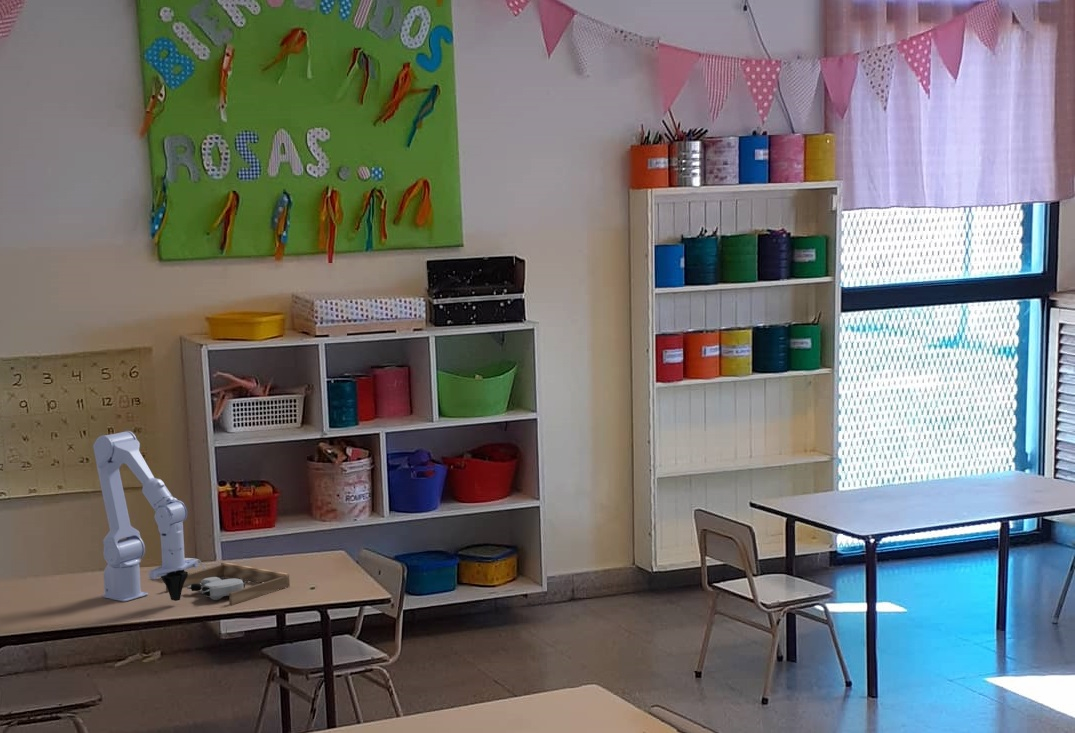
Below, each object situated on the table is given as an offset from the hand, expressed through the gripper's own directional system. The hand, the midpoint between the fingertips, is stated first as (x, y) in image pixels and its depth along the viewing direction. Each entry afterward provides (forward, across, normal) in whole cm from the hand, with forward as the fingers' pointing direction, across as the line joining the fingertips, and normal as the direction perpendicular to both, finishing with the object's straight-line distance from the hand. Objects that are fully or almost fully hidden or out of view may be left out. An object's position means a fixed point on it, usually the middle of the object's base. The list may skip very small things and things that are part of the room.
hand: (175, 599), depth 357 cm
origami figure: (+2, +21, +21) cm, 30 cm away
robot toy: (+2, +12, -2) cm, 13 cm away
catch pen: (+1, +18, 0) cm, 18 cm away
